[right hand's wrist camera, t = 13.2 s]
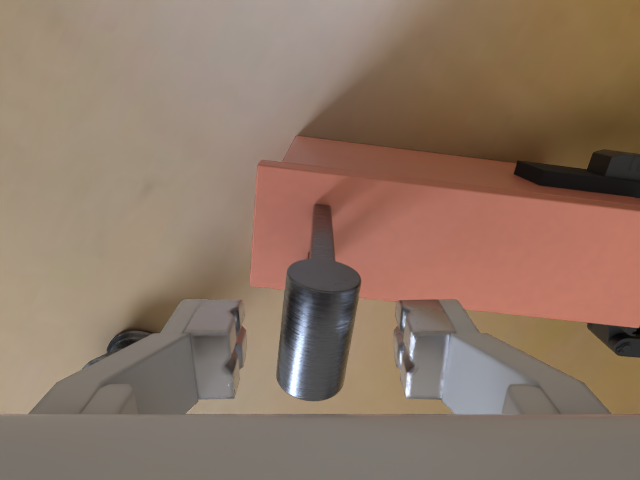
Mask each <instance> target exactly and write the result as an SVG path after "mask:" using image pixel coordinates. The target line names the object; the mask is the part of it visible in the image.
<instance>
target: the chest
mask: <svg viewBox="0 0 640 480" xmlns="http://www.w3.org/2000/svg"><path fill="white" fill-rule="evenodd" d="M282 162H283V163H291V164H300V165H308V166H316V167H324V168H332V169H340V170H349V171H357V172H365V173H373V174H381V175H390V176H398V177H406V178H414V179H422V180H431V181H439V182H447V183H455V184H463V185H471V186H480V187H488V188H496V189H504V190H512V191H521V192H529V193H537V194H545V195H553V196H562V197H570V198H578V199H586V200H594V201H602V202H611V203H619V204H627V205H635V206H640V199H638V198H635V197H628V196H620V195H612V194H604V193H596V192H587V191H579V190H571V189H563V188H555V187H547V186H539V185H537V184H535V183H532V182H530V181H528V180H526V179H523V178H521V177H519V176H516V175H514V171H515V167H516V164H517V163H511V162H503V161H495V160H487V159H479V158H471V157H463V156H455V155H447V154H439V153H431V152H423V151H415V150H407V149H399V148H391V147H383V146H375V145H367V144H359V143H351V142H343V141H335V140H327V139H319V138H311V137H303V136H296V137H295V139H294V140H293V142H292V144H291V146H290V148H289V150H288V152H287V154H286V156H285V157H284V159H283V161H282Z"/></svg>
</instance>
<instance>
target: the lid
mask: <svg viewBox="0 0 640 480" xmlns="http://www.w3.org/2000/svg"><path fill="white" fill-rule="evenodd" d="M250 286H255V287H265V288H274V289H283V290H285V292H284V302H283V312H282V322H281V332H280V342H279V351H278V361H277V371H276V377H277V380H278V383H279V385H280V386H281V388H282V389H283V390H284V391H285V392H287V393H288V394H290V395H291V396H293V397H295V398H298V399H302V400H306V401H321V400H326V399H329V398H331V397H333V396H334V395H336V394H337V393H338V392H339V391H340V390H341V388H342V386H343V383H344V378H345V372H346V366H347V361H348V355H349V349H350V344H351V338H352V333H353V327H354V321H355V316H356V310H357V304H358V299H359V298H366V299H375V300H384V301H393V302H397V301H398V300H427V299H438V300H439V299H456V300H458V301H459V302H460V304H461V305H462V307H463V308H464V309H467V310H476V311H485V312H494V313H503V314H513V315H522V316H531V317H540V318H549V319H558V320H568V321H577V322H586V323H595V324H604V325H614V326H623V327H632V328H639V327H640V206H635V205H627V204H619V203H611V202H602V201H594V200H586V199H578V198H570V197H562V196H553V195H545V194H537V193H529V192H521V191H512V190H504V189H496V188H488V187H480V186H471V185H463V184H455V183H447V182H439V181H431V180H422V179H414V178H406V177H398V176H390V175H381V174H373V173H365V172H357V171H349V170H340V169H332V168H324V167H316V166H308V165H300V164H291V163H283V162H275V161H267V160H261V162H260V163H259V164H258V166H257V177H256V193H255V208H254V223H253V239H252V254H251V270H250Z"/></svg>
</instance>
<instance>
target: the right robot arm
mask: <svg viewBox="0 0 640 480" xmlns="http://www.w3.org/2000/svg"><path fill="white" fill-rule="evenodd" d="M244 316H245V312H244V304H243V301H242V300H216V299H204V300H203V299H184V300H182V301H181V302H180V303H179V305H178V306H177V308H176V309H175V311H174V312H173V314H172V315H171V317H170V318H169V320H168V321H167V323H166V324H165V326H164V327H163V329H162V330H161V332H160V333H153V334H151V335H149V336H147V337H145V338H143V339H141V340H139V341H137V342H135V343H133V344H131V345H129V346H128V347H126V348H124V349H122V350H120V351H118V352H116V353H114V354H112V355H110V356H108V357H106V358H104V359H102V360H100V361H98V362H96V363H94V364H92V365H90V366H88V367H86V368H84V369H82V370H80V371H78V372H77V373H75V374H73V375H71V376H69V377H67V378H65V379H63V380H61V381H59V382H57V383H56V384H55V385H54V386H53V387H52V388H51V389H50V391H49V392H48V393H47V394H46V395H45V396H44V397H43V398H42V399H41V400H40V402H39V403H38V404H37V405H36V406H35V407H34V408H33V409H32V410H31V412H30V413H29V414H0V480H640V414H611V413H610V412H609V410H608V409H607V408H606V407H605V406H604V405H603V404H602V403H601V402H600V400H599V399H598V398H597V397H596V396H595V395H594V394H593V393H592V392H591V390H590V389H589V388H588V387H587V386H586V385H585V384H584V383H583V382H581V381H579V380H577V379H575V378H573V377H571V376H569V375H567V374H565V373H563V372H561V371H559V370H557V369H555V368H553V367H551V366H549V365H548V364H546V363H544V362H542V361H540V360H538V359H536V358H534V357H532V356H530V355H528V354H526V353H524V352H522V351H520V350H518V349H516V348H514V347H512V346H510V345H508V344H506V343H505V342H503V341H501V340H499V339H497V338H495V337H493V336H491V335H489V334H487V333H480V332H479V331H478V329H477V328H476V326H475V325H474V323H473V322H472V320H471V319H470V317H469V316H468V314H467V313H466V311H465V310H464V308H463V307H462V305H461V304H460V302H459V301H458V300H456V299H439V300H438V299H427V300H398V301H397V304H396V311H395V317H396V320H397V323H398V326H397V327H396V329H395V330H394V339H393V345H394V357H395V362H396V366H397V367H398V368H399V369H400V370H401V374H400V380H401V384H402V387H403V391H404V394H405V398H407V399H442V402H443V403H444V404H445V405H446V406H447V407H448V408H450V409H451V410H452V411H453V412H454V413H455V414H185V413H186V412H187V411H188V410H190V409H191V408H192V407H193V406H194V405H195V404H196V403H197V402H198V399H232V398H235V394H236V391H237V387H238V384H239V380H240V375H239V370H240V369H241V368H242V367H243V366H244V362H245V356H246V348H247V338H246V330H245V329H244V327H243V326H242V323H243V320H244Z"/></svg>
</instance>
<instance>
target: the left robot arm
mask: <svg viewBox="0 0 640 480" xmlns="http://www.w3.org/2000/svg"><path fill="white" fill-rule="evenodd" d="M514 175H516V176H519V177H521V178H523V179H526V180H528V181H530V182H532V183H535V184H537V185H539V186H547V187H555V188H563V189H571V190H579V191H587V192H596V193H604V194H612V195H620V196H628V197H635V198H640V154H635V153H627V152H619V151H611V150H600V151H596V152H593V154H592V157H591V160H590V163H589V165H588V168H587V169H580V168H572V167H564V166H556V165H548V164H540V163H532V162H524V161H517V164H516V167H515V171H514ZM587 327H588V329H589V330H590V331H591V332H592V333H593V334H594V335H596V336H597V337H598V338H599V339H600V340H601V341H602V342H603V343H604V344H606V345H607V346H608V347H609V348H610V349H611V350H612V351H614V352H615V353H616V354H617V355H619V356H627V357H640V327H639V328H632V327H623V326H614V325H604V324H595V323H588V325H587Z"/></svg>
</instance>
